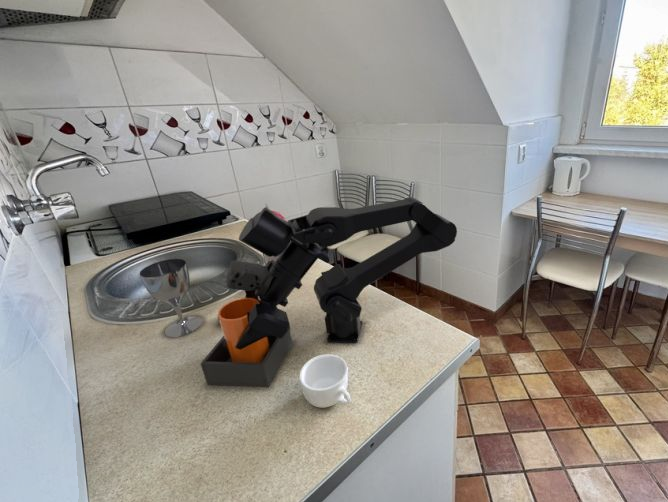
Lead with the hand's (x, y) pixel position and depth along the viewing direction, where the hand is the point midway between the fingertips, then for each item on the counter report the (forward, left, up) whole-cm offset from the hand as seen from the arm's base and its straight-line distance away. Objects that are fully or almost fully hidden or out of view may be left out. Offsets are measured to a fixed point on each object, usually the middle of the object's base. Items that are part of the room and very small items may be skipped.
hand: (237, 335), depth 59 cm
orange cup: (-1, -1, -7) cm, 7 cm away
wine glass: (+20, -11, -7) cm, 24 cm away
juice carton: (+5, -30, -7) cm, 31 cm away
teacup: (-18, +7, -7) cm, 21 cm away
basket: (-1, -1, -7) cm, 7 cm away
